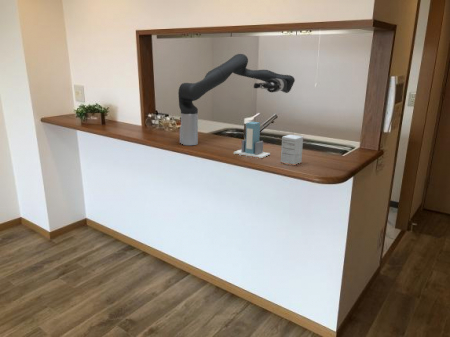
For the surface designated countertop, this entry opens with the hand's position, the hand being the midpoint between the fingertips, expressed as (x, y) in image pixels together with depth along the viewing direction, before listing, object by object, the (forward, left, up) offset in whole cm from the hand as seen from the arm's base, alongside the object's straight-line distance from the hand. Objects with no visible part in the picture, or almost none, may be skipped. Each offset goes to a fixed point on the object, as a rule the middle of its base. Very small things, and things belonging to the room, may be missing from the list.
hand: (261, 86), depth 198 cm
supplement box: (+30, -24, -32) cm, 50 cm away
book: (+8, -22, -31) cm, 39 cm away
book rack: (+8, -22, -32) cm, 40 cm away
